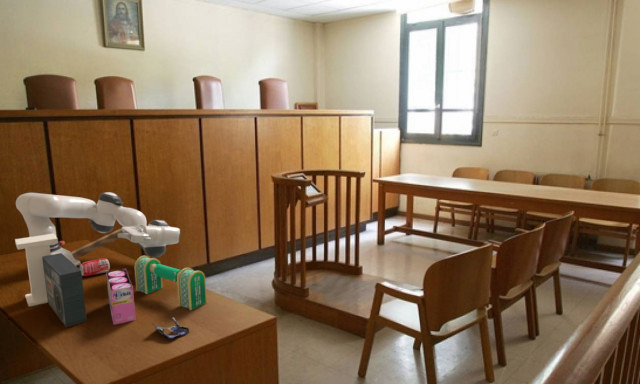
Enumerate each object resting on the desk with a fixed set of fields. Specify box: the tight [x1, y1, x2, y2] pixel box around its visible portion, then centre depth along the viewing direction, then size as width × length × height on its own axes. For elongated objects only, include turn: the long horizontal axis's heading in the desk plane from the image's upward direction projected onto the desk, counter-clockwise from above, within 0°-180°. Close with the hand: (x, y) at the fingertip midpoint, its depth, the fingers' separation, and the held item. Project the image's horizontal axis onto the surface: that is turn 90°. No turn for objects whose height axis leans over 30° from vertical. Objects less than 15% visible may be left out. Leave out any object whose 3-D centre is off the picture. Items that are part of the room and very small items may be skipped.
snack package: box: [151, 316, 190, 341], centre depth 159 cm, size 12×6×12 cm
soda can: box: [79, 257, 111, 277], centre depth 218 cm, size 7×7×12 cm
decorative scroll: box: [133, 255, 208, 311], centre depth 189 cm, size 36×8×15 cm, turn 55°
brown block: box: [70, 228, 124, 260], centre depth 200 cm, size 22×3×3 cm, turn 128°
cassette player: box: [42, 253, 87, 328], centre depth 176 cm, size 29×7×20 cm, turn 42°
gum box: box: [105, 268, 136, 326], centre depth 177 cm, size 24×8×14 cm, turn 29°
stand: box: [14, 234, 59, 307], centre depth 188 cm, size 14×12×26 cm
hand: (115, 234), depth 204 cm, fingers closed on brown block, 3 cm apart
